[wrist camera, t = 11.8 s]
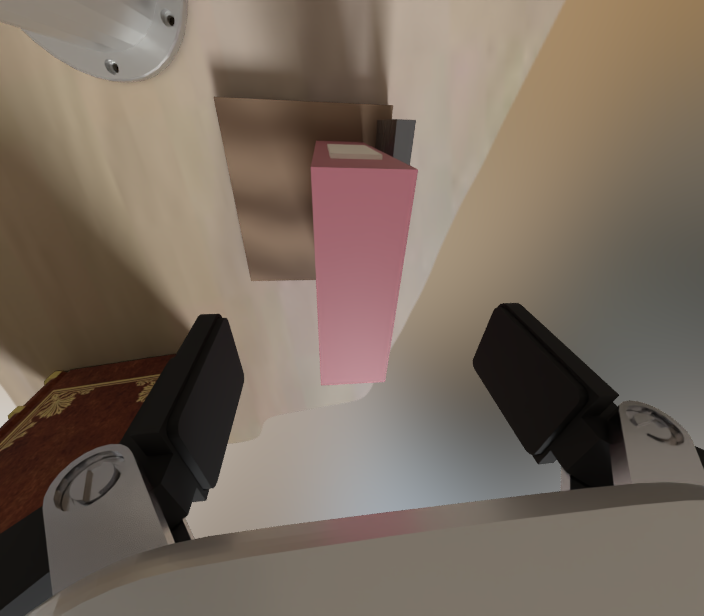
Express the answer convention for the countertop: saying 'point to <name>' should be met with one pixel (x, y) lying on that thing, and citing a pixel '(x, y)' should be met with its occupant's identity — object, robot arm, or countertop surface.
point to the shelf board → (284, 173)
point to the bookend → (396, 138)
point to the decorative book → (67, 427)
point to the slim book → (358, 255)
